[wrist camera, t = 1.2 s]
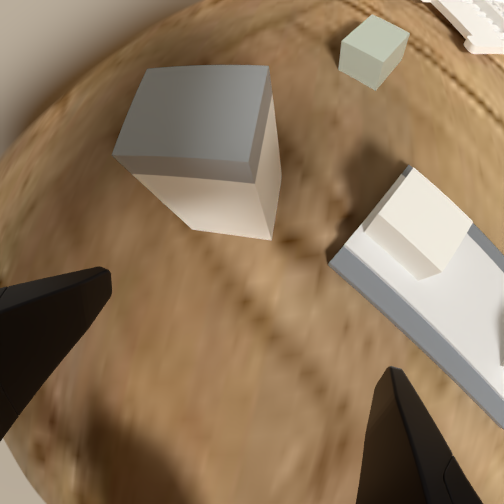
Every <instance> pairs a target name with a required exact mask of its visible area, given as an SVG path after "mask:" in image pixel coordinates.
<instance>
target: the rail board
mask: <svg viewBox="0 0 504 504" xmlns="http://www.w3.org/2000/svg"><path fill="white" fill-rule="evenodd" d="M328 265H329V266H330V267H331V268H332V269H333V270H334V271H335V272H336V273H338V274H339V275H340V276H341V277H342V278H343V279H344V280H346V281H347V282H348V283H349V284H350V285H351V286H352V287H353V288H355V289H356V290H357V291H358V292H359V293H360V294H361V295H362V296H363V297H365V298H366V299H367V300H368V301H369V302H370V303H371V304H372V305H373V306H375V307H376V308H377V309H378V310H379V311H380V312H381V313H382V314H383V315H384V316H385V317H387V318H388V319H389V320H390V321H391V322H392V323H393V324H394V325H395V326H396V327H397V328H398V329H400V330H401V331H402V332H403V333H404V334H405V335H406V336H407V337H408V338H409V339H410V340H411V341H412V342H413V343H415V344H416V345H417V346H418V347H419V348H420V349H421V350H422V351H423V352H424V353H425V354H426V355H427V356H428V357H429V358H430V359H431V360H432V361H434V362H435V363H436V364H437V365H438V366H439V367H440V368H441V369H442V370H443V371H444V372H445V373H446V374H447V375H448V376H449V377H450V378H451V379H452V380H453V381H454V382H455V383H456V384H457V385H458V386H459V387H460V388H461V389H462V390H463V391H464V392H465V393H466V394H467V395H468V396H469V397H470V398H471V399H472V400H473V401H474V402H475V403H476V404H477V405H478V406H479V407H480V408H481V409H482V410H483V411H484V412H485V413H486V414H487V415H488V416H489V417H490V418H491V419H492V420H493V421H494V422H495V423H496V424H497V425H498V426H499V427H500V428H502V429H504V255H503V254H502V253H501V252H500V251H499V250H498V249H497V248H496V247H495V245H494V244H493V243H492V242H491V241H490V240H489V239H488V238H487V237H486V236H485V235H484V234H483V233H482V232H481V231H480V230H479V228H478V227H477V226H476V225H475V224H474V223H473V221H472V220H471V219H470V218H469V217H468V216H467V215H466V214H465V213H464V212H463V211H462V210H461V209H460V208H459V207H458V206H456V205H455V204H454V203H453V202H452V201H451V200H450V199H449V198H448V197H447V196H446V195H445V194H444V193H443V192H441V191H440V190H439V189H438V188H437V187H436V186H435V185H434V184H432V183H431V182H430V181H429V180H428V179H427V178H426V177H424V176H423V175H422V174H421V173H420V172H419V171H417V170H416V169H415V168H412V167H411V166H410V165H408V166H407V168H406V169H405V170H404V171H403V173H402V174H401V175H400V176H399V177H398V179H397V180H396V181H395V183H394V184H393V185H392V186H391V188H390V189H389V190H388V192H387V193H386V194H385V195H384V197H383V198H382V199H381V200H380V202H379V203H378V204H377V205H376V207H375V208H374V209H373V210H372V212H371V213H370V214H369V215H368V216H367V218H366V219H365V220H364V221H363V223H362V224H361V225H360V226H359V227H358V229H357V230H356V231H355V232H354V233H353V235H352V236H351V237H350V238H349V239H348V241H347V242H346V243H345V244H344V246H343V247H342V248H341V249H340V251H339V252H338V253H337V254H336V255H335V256H334V258H333V259H332V260H331V261H330V262H329V264H328Z"/></svg>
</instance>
